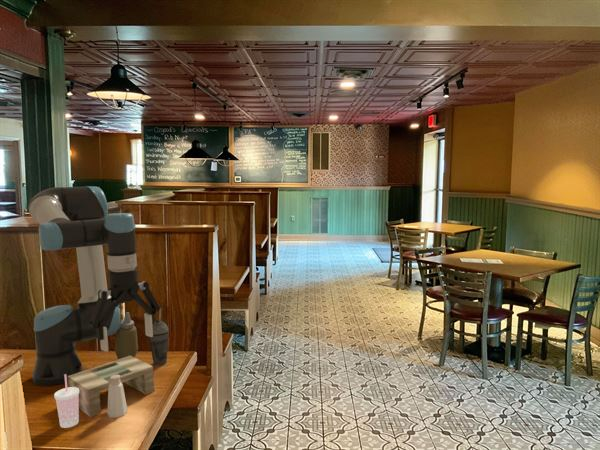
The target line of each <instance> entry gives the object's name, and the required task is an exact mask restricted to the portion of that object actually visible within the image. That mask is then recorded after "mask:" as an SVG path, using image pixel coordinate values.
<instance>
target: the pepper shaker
mask: <svg viewBox="0 0 600 450" xmlns="http://www.w3.org/2000/svg"><path fill="white" fill-rule="evenodd" d="M110 383H111V384H110V385H109V388H107V391H108V392H107V394H108V395H107V416H108V417H109V418H114V419H115V418H116V419H117V417H118V418H121V417H124V416H125V415H126V414H127V413H128V412H127V411H128V406H127V400H126V395H125V389H124V388H125V387H124V385H123V382H122V383H121V382H120V375H112V376H111V377H110ZM126 412H127V413H126ZM120 416H121V417H120Z"/></svg>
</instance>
